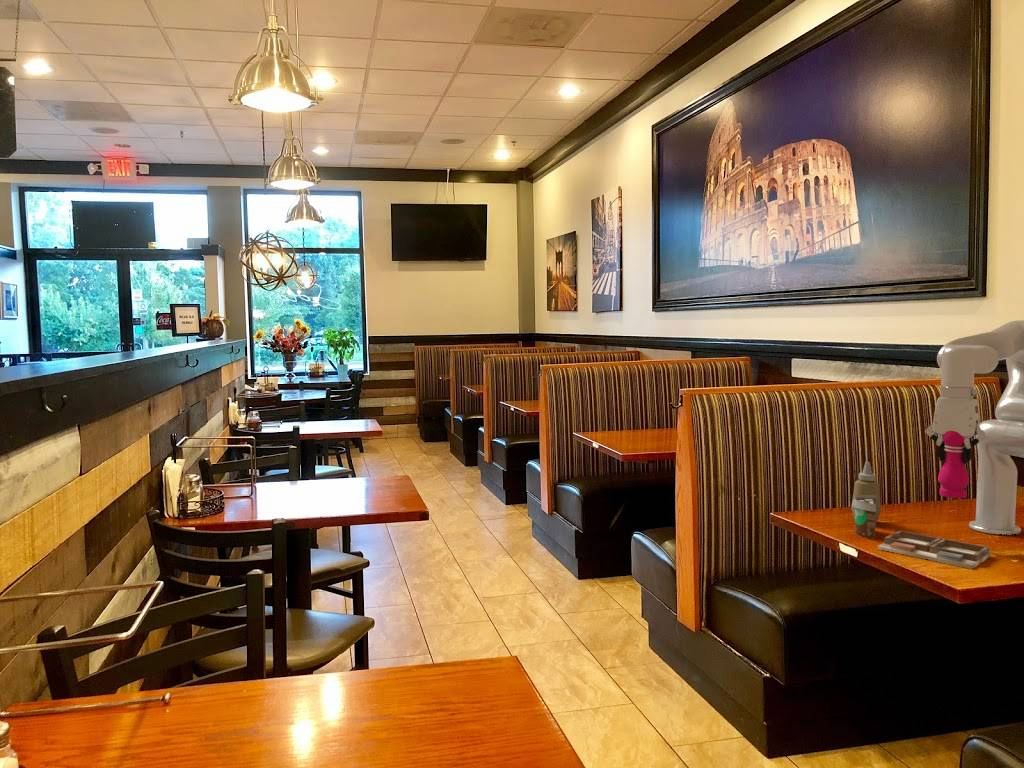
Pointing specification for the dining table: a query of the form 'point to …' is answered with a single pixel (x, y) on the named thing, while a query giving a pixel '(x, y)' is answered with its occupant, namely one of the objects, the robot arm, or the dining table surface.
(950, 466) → the pepper mill
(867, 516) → the food container
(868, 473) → the squeeze bottle
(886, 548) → the holder board
